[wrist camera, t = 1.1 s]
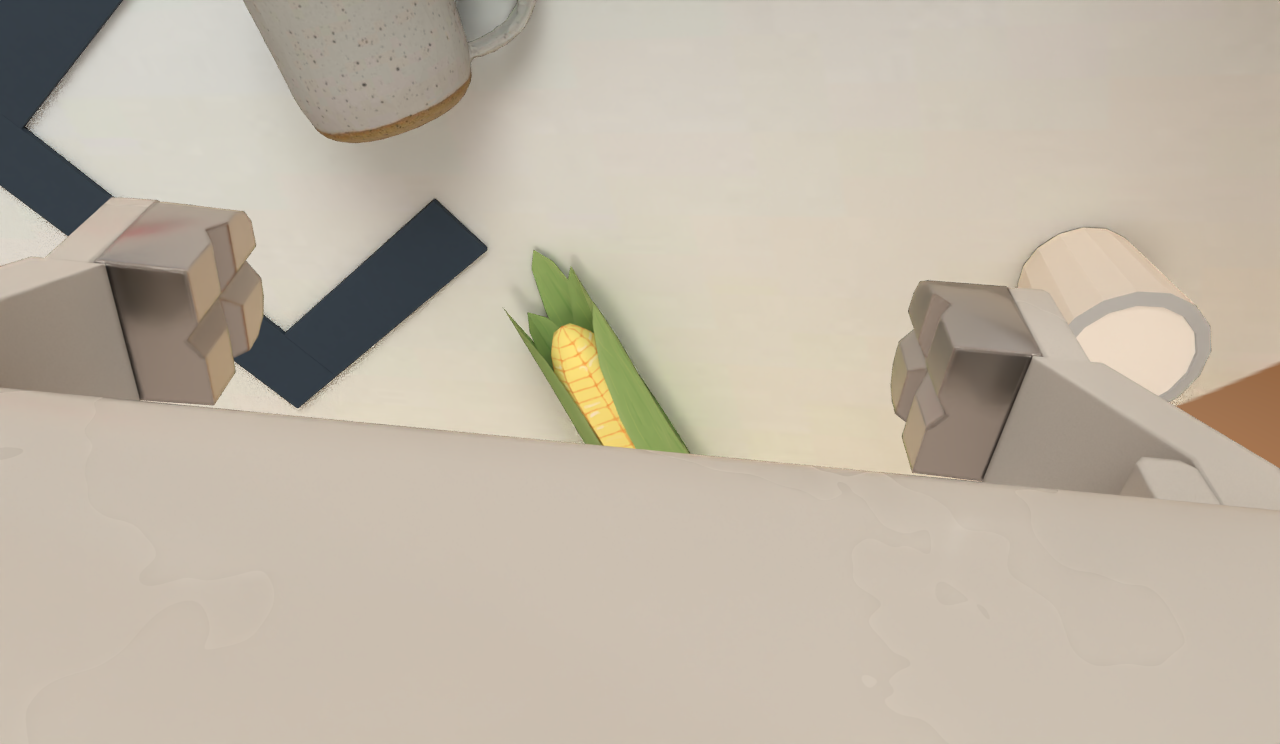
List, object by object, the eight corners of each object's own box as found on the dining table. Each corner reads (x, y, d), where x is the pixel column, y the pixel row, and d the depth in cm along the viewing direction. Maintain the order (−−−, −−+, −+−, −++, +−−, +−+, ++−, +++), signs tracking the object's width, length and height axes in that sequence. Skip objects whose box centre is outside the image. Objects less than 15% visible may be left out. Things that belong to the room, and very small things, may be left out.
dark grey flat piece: (89, -123, 39) (85, -122, 39) (488, 247, 48) (486, 250, 48) (-82, 119, 46) (-86, 121, 45) (299, 405, 55) (297, 408, 55)
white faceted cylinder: (1044, 200, 46) (1094, 276, 40) (1179, 233, 46) (1247, 313, 41) (981, 320, 50) (1018, 404, 44) (1106, 349, 50) (1158, 435, 45)
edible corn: (655, 528, 59) (652, 586, 56) (489, 263, 49) (472, 312, 45) (734, 504, 58) (737, 561, 54) (580, 226, 47) (571, 273, 44)
